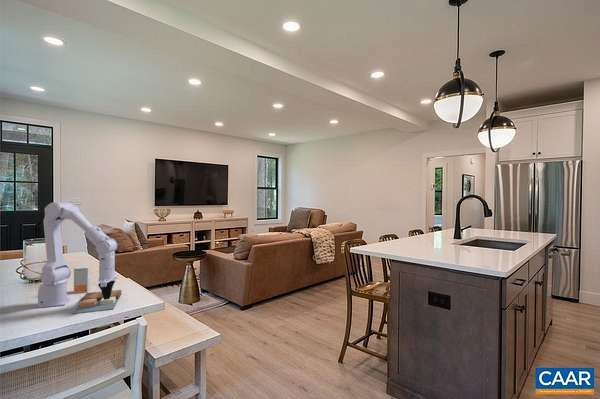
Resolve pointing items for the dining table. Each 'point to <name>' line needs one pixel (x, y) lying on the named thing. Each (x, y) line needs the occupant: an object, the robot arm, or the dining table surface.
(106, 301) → the tile sage
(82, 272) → the skincare box
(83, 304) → the tile terracotta
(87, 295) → the riser
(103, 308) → the mat
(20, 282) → the dining table surface
